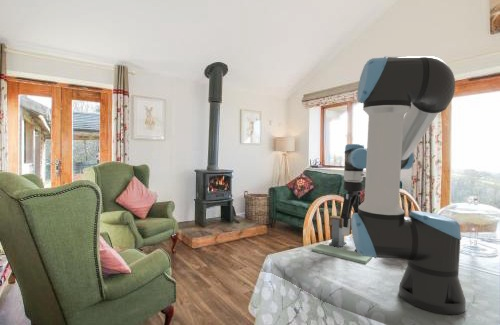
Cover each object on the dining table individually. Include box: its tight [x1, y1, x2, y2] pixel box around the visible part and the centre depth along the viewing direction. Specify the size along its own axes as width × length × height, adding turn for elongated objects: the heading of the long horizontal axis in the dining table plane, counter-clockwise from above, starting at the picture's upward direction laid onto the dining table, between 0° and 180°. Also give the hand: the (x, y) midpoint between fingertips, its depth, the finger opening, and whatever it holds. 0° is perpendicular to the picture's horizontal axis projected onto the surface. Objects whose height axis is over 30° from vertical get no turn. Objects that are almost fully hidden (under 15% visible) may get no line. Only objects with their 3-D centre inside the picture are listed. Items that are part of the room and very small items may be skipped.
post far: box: [328, 219, 347, 248], centre depth 124 cm, size 7×5×12 cm
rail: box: [328, 215, 352, 231], centre depth 120 cm, size 4×18×4 cm, turn 52°
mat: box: [311, 243, 373, 265], centre depth 112 cm, size 8×21×1 cm, turn 52°
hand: (351, 231), depth 121 cm, fingers open, 12 cm apart
